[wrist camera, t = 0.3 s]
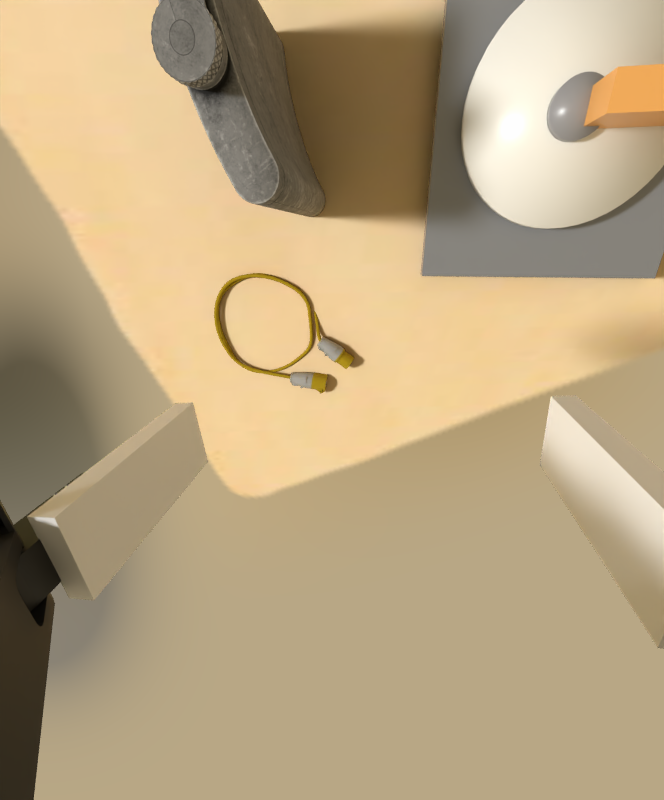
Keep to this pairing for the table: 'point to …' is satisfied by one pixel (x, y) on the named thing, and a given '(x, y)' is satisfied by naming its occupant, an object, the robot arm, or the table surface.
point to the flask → (240, 97)
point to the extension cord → (301, 379)
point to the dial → (567, 110)
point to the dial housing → (495, 236)
